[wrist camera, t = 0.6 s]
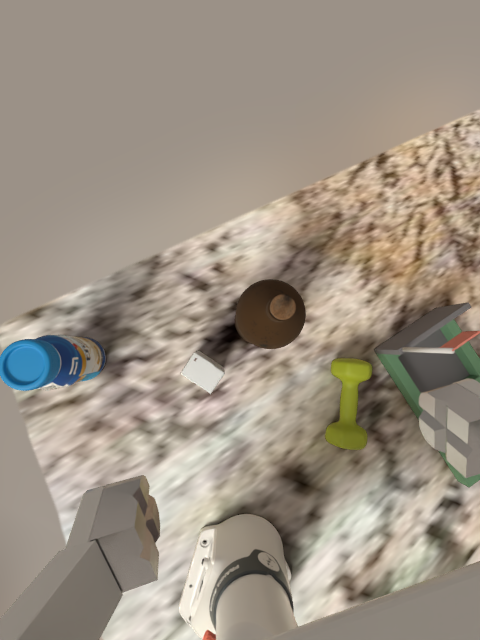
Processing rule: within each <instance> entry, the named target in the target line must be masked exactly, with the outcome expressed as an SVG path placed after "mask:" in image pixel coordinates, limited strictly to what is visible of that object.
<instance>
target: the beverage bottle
mask: <svg viewBox="0 0 480 640" xmlns="http://www.w3.org/2000/svg"><path fill="white" fill-rule="evenodd" d="M105 359H106V357H105V352H104V349H103V347H102V346H101V345H100V344H99V343H98V342H97V341H96V340H94V339H91V338H88V337H71V336H66V335H46V336H42V337H39V338H37V339H25V340H20V341H17V342H14V343H12V344H11V345H9V346H8V347H7V348H6V349H5V350H4V351H3V353H2V354H1V356H0V376H1V378H2V380H3V381H4V382H5V383H6V384H7V385H8V386H10V387H11V388H14V389H17V390H23V391H24V390H26V391H27V390H33V389H37V388H39V389H43V390H53V389H57V388H64V387H68V386H70V385H72V384H74V383H76V382H80V381H86V380H90V379H92V378H94V377H96V376H97V375H98V374H99V373H100V372H101V371H102V369H103V367H104V365H105Z"/></svg>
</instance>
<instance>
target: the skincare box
mask: <svg viewBox="0 0 480 640" xmlns="http://www.w3.org/2000/svg"><path fill="white" fill-rule="evenodd" d="M224 374H225V372H224V369H223V366H221V365H220V364H218V363H217V362H215V361H214V360H212V359H211V358H209V357H208V356H206V355H205V354H203V353H202V352H200V351H199V350H198V351H196V352H194V353H193V355H192V356H191V358H190V359H189V361H188V362H187V364H186V365H185V367H184V369H183V370H182V372H181V375H183V376H184V377H186V378H187V379H189V380H190V381H192V382H193V383H195V384H197V385H198V386H200V387H201V388H203V389H204V390H206V391H207V392H209V393H210V394H211V393H212V391H213V390H214V389H215V387H216V386H217V384H218V383H219V381H220V380H221V378H222V377H223V375H224Z"/></svg>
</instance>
